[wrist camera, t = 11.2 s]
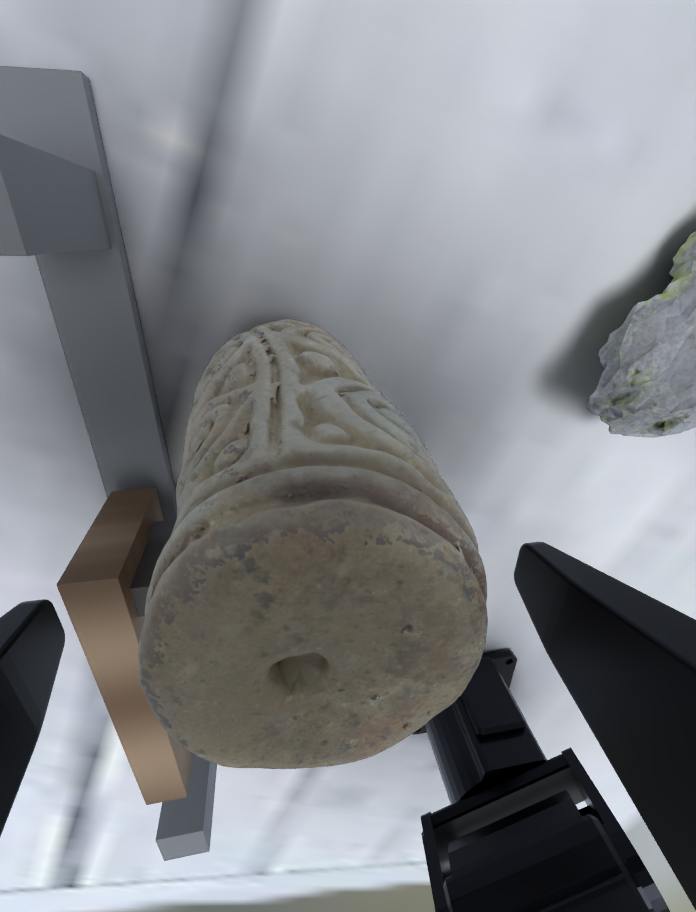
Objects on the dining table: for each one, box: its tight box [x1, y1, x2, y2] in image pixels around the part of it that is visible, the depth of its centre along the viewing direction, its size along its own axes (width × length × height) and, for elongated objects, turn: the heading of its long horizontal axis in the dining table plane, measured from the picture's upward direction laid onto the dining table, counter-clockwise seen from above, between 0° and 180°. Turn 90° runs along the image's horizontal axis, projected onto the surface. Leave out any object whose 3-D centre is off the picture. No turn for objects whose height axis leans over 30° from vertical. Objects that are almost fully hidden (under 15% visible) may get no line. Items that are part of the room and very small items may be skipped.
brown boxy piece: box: [57, 488, 193, 805], centre depth 17 cm, size 12×7×5 cm, turn 0°
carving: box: [138, 317, 488, 769], centre depth 12 cm, size 6×8×12 cm
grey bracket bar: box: [0, 66, 217, 861], centre depth 16 cm, size 30×2×6 cm, turn 0°
